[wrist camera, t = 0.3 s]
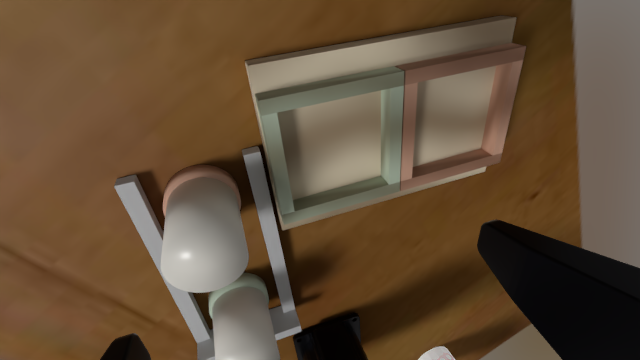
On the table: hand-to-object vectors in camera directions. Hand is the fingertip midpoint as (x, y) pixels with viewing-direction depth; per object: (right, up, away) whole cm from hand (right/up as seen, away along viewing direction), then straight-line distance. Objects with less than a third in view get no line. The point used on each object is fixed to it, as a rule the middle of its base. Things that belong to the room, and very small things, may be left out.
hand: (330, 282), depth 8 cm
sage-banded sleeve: (-7, -6, +18) cm, 20 cm away
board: (+4, +6, +14) cm, 16 cm away
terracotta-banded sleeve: (-8, +2, +13) cm, 15 cm away
